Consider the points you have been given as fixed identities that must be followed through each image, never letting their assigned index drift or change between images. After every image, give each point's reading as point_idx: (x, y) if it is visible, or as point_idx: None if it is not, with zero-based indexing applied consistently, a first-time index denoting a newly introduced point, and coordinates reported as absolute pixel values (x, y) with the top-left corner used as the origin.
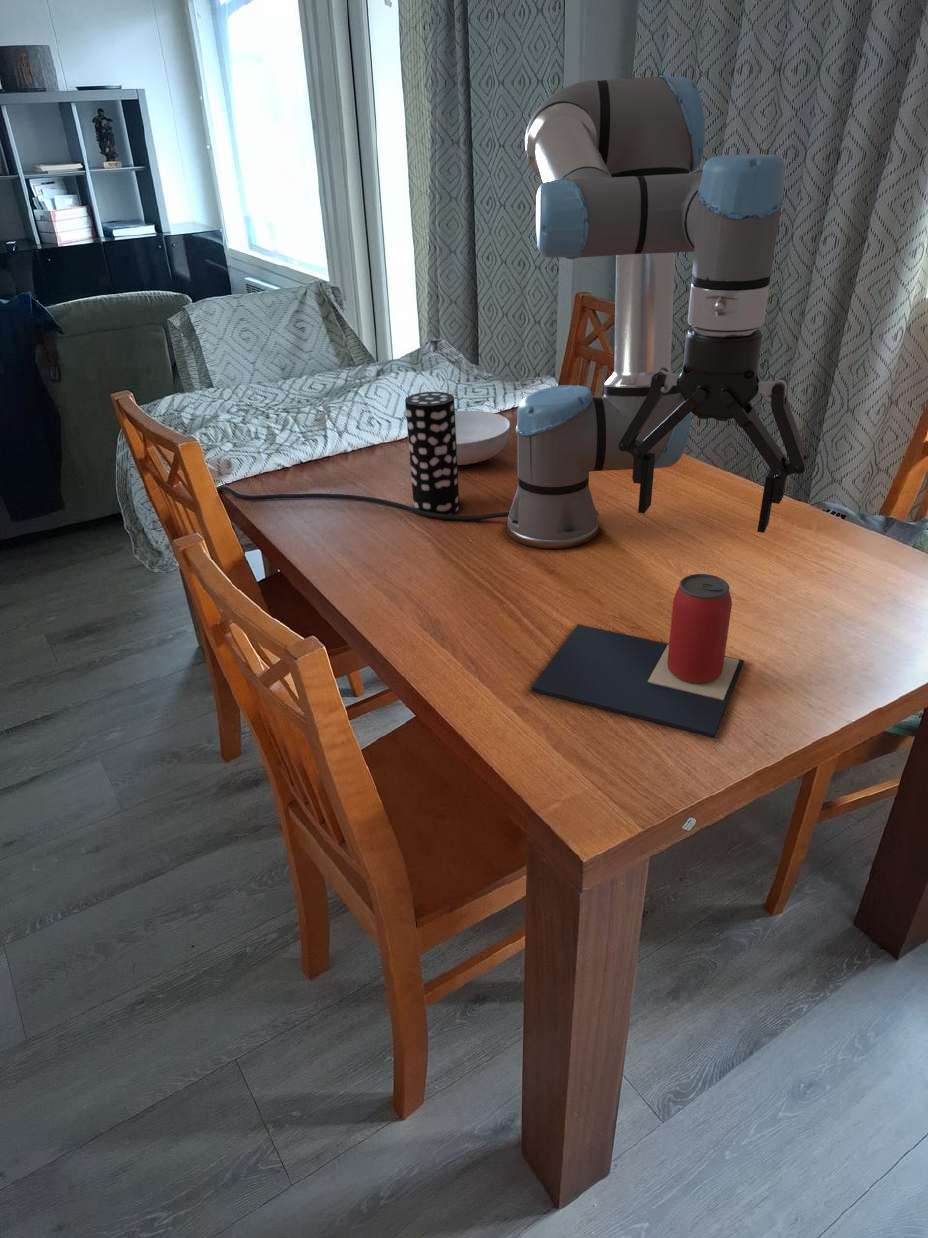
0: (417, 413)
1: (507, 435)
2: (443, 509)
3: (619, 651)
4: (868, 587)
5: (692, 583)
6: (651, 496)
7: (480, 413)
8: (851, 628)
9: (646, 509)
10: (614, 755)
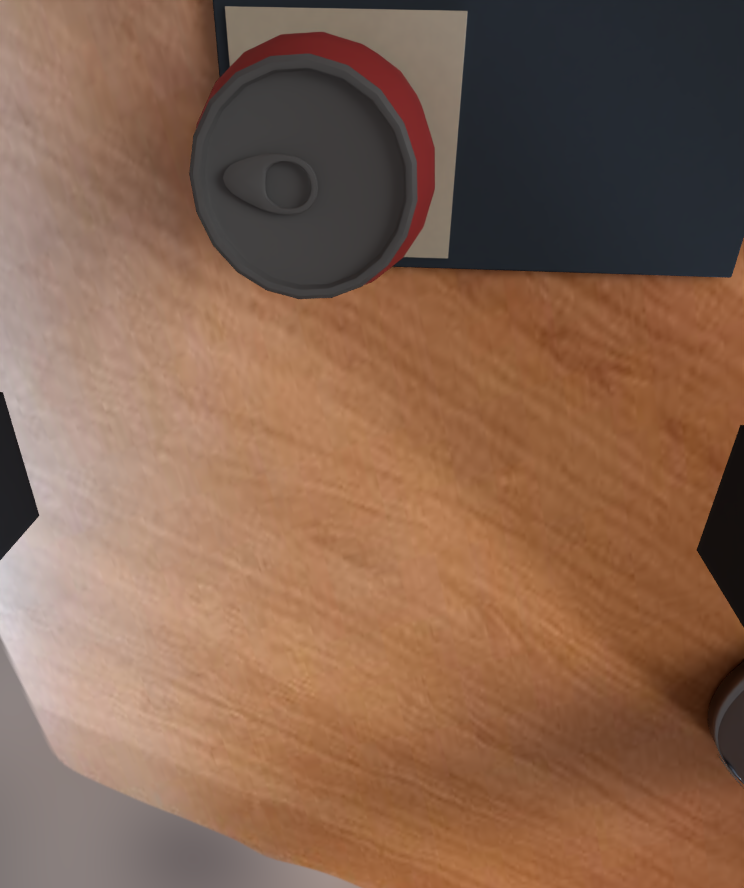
0: None
1: None
2: None
3: (583, 167)
4: (96, 648)
5: (362, 203)
6: (722, 587)
7: None
8: (69, 497)
9: (731, 470)
10: None
